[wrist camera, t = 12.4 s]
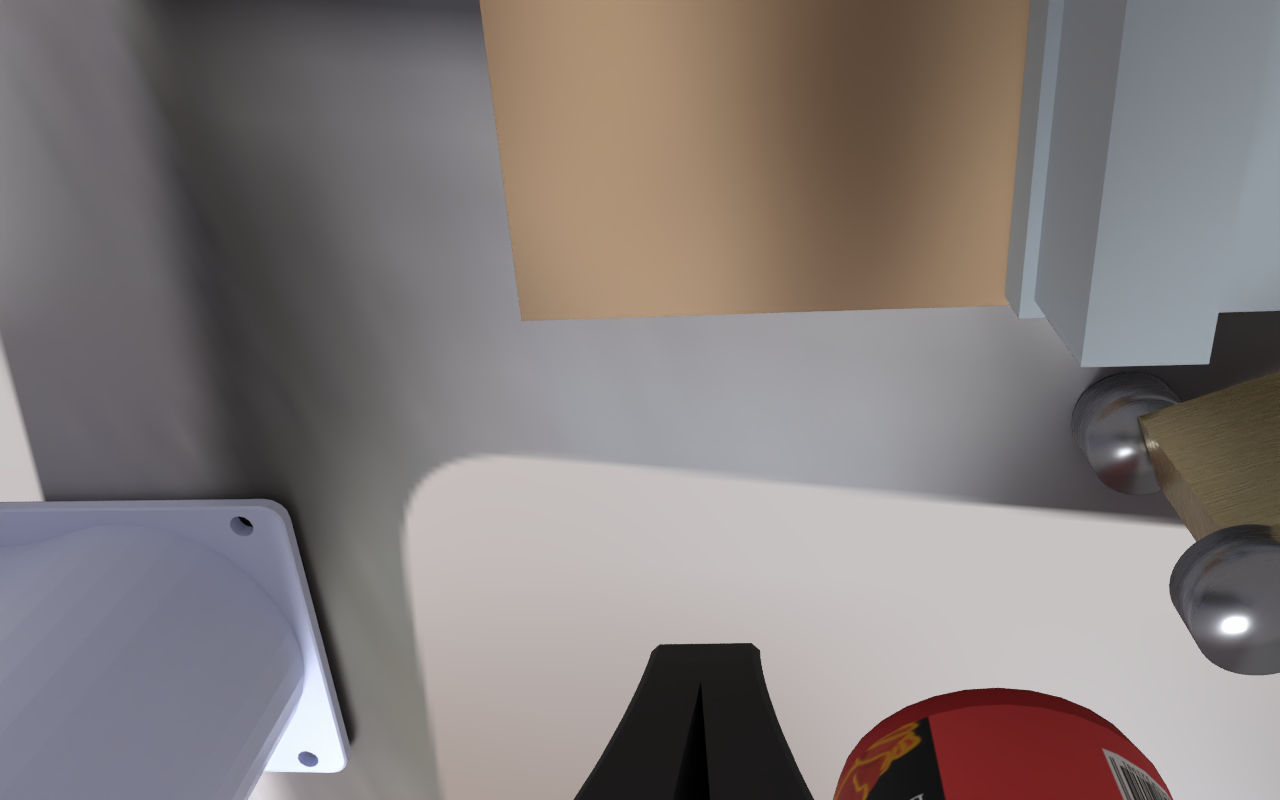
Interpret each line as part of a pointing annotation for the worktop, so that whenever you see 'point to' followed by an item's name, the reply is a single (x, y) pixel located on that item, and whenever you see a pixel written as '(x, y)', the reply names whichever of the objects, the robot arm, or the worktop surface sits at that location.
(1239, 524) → the bar
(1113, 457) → the chrome dome knob
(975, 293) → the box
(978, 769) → the canned food
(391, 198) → the worktop surface
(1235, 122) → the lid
